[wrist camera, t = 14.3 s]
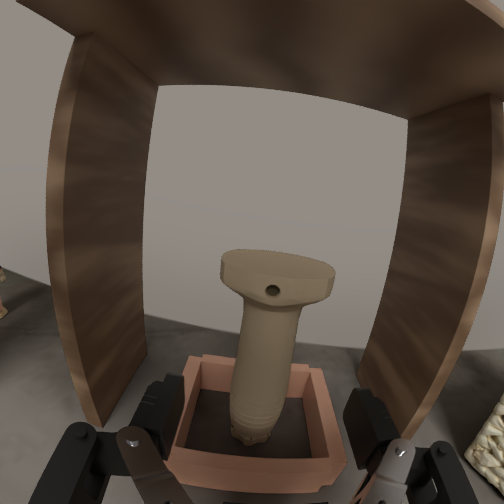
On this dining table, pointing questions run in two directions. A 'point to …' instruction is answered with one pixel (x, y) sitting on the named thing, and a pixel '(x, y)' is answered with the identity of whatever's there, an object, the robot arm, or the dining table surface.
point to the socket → (251, 468)
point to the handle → (268, 331)
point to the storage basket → (490, 448)
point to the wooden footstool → (293, 80)
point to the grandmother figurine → (0, 310)
